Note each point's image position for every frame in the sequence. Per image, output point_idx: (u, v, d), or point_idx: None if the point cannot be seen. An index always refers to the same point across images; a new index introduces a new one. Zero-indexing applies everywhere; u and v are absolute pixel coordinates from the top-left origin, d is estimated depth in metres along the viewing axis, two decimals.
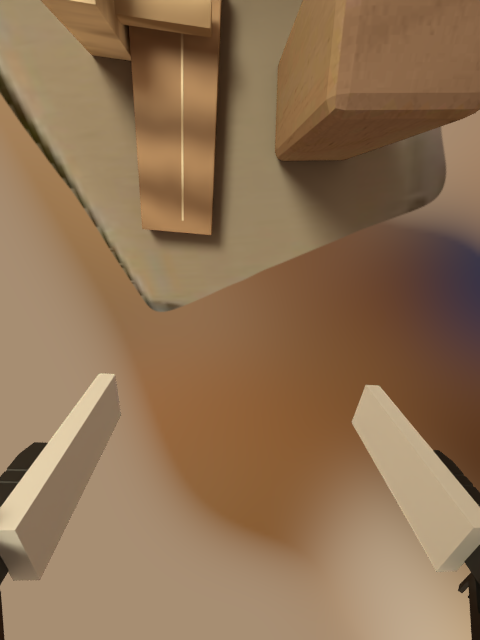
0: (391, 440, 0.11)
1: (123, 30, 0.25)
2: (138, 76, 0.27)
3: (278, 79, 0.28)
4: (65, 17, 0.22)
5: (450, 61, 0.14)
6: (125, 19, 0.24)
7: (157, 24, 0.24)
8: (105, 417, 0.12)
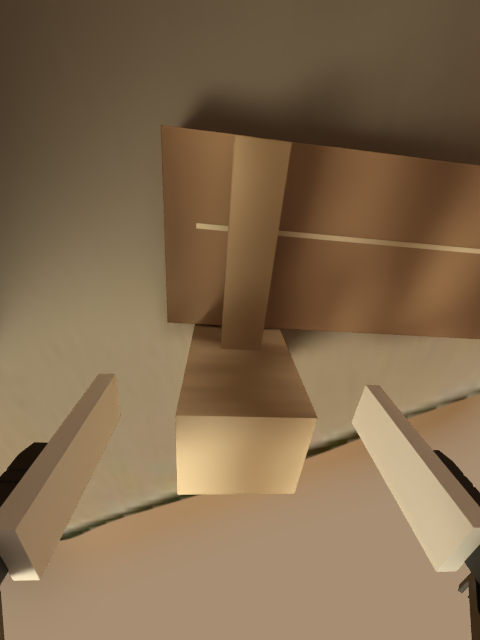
0: (391, 440, 0.11)
1: None
2: (317, 320, 0.15)
3: None
4: None
5: None
6: None
7: None
8: (105, 417, 0.12)
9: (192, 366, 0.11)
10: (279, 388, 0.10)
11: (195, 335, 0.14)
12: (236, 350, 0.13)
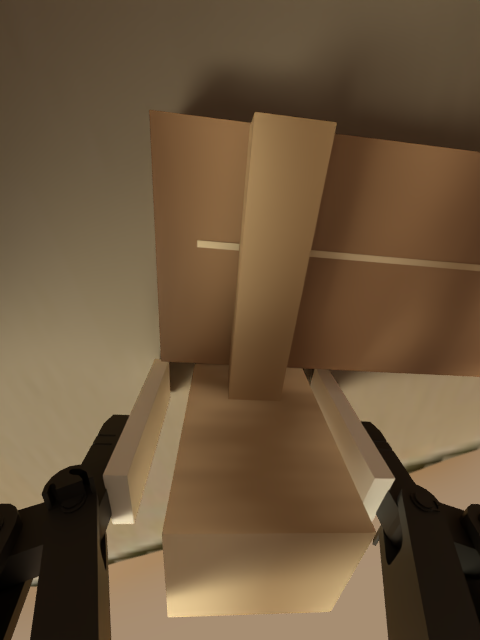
0: (329, 414, 0.12)
1: None
2: (348, 358, 0.12)
3: None
4: None
5: None
6: None
7: None
8: (163, 397, 0.13)
9: (189, 431, 0.08)
10: (312, 471, 0.07)
11: (195, 377, 0.11)
12: (248, 400, 0.10)
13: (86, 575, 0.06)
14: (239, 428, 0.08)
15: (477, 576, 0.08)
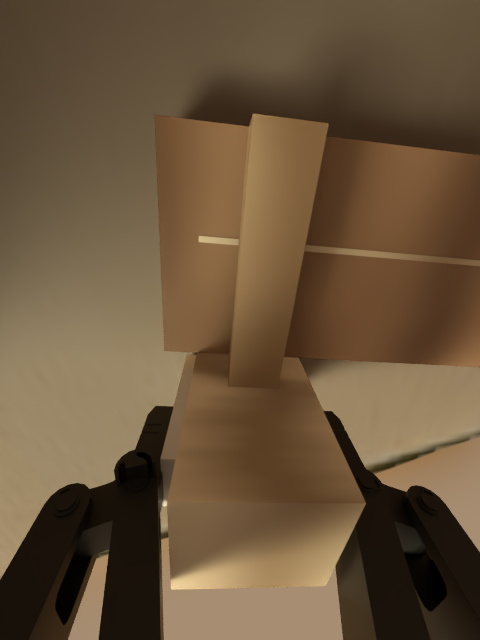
0: None
1: None
2: (341, 348, 0.12)
3: None
4: None
5: None
6: None
7: None
8: None
9: (192, 414, 0.09)
10: (307, 450, 0.08)
11: (197, 367, 0.11)
12: (247, 388, 0.10)
13: (149, 553, 0.06)
14: (239, 412, 0.09)
15: (419, 554, 0.08)
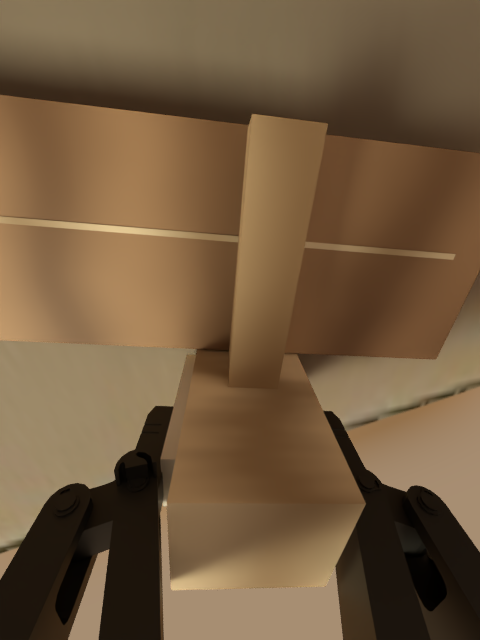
0: None
1: None
2: (132, 333, 0.12)
3: None
4: None
5: None
6: None
7: None
8: None
9: (192, 415, 0.09)
10: (307, 450, 0.08)
11: (197, 367, 0.11)
12: (247, 388, 0.10)
13: (149, 552, 0.06)
14: (238, 413, 0.09)
15: (419, 554, 0.08)
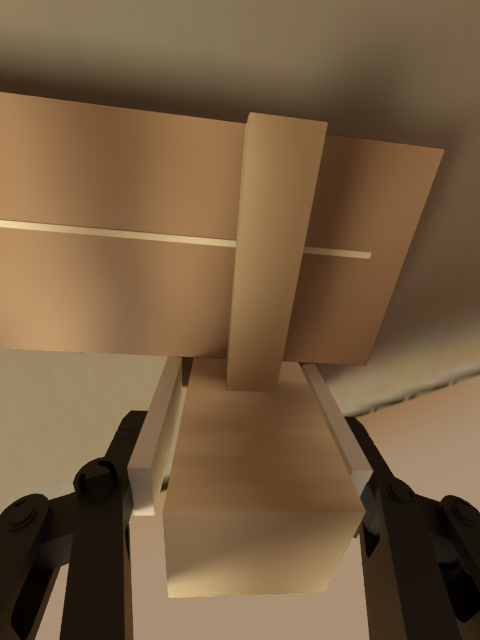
0: None
1: None
2: (29, 336, 0.11)
3: None
4: None
5: None
6: None
7: None
8: (177, 393, 0.13)
9: (189, 419, 0.08)
10: (306, 456, 0.08)
11: (194, 370, 0.11)
12: (245, 391, 0.10)
13: (113, 564, 0.06)
14: (236, 417, 0.09)
15: (452, 565, 0.08)
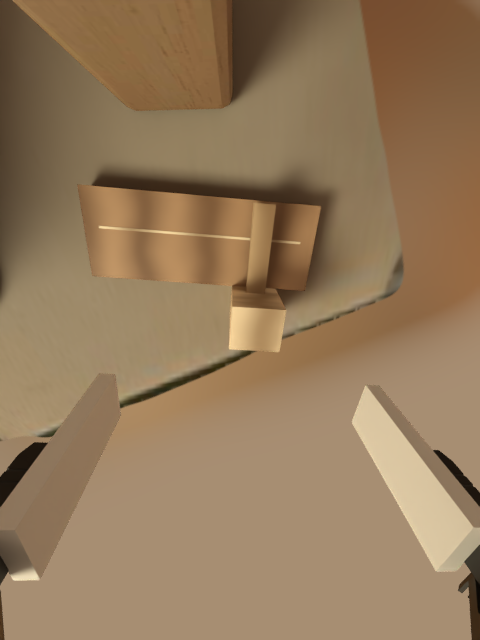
0: (391, 440, 0.11)
1: (264, 288, 0.29)
2: (170, 275, 0.28)
3: (147, 107, 0.23)
4: None
5: None
6: None
7: None
8: (105, 417, 0.12)
9: (234, 296, 0.26)
10: (272, 303, 0.25)
11: (233, 288, 0.28)
12: (253, 293, 0.27)
13: None
14: (250, 297, 0.26)
15: None
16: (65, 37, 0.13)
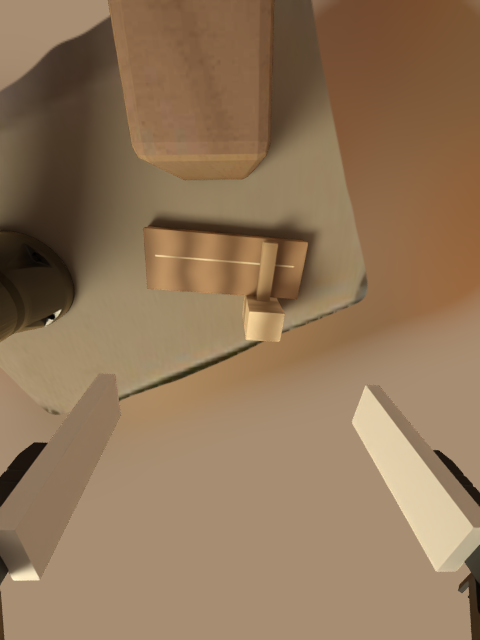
0: (391, 440, 0.11)
1: None
2: (202, 288, 0.40)
3: (193, 179, 0.34)
4: None
5: (236, 30, 0.15)
6: None
7: None
8: (105, 417, 0.12)
9: (249, 304, 0.38)
10: (275, 309, 0.37)
11: (247, 297, 0.40)
12: (261, 301, 0.39)
13: None
14: (260, 304, 0.38)
15: None
16: (170, 171, 0.25)
